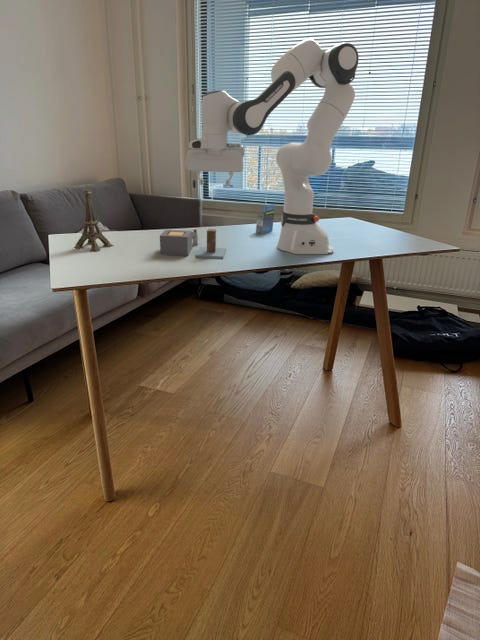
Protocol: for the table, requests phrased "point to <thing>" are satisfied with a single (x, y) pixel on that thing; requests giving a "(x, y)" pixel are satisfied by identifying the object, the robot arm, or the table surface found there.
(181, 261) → the table surface
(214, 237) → the brown rectangular block
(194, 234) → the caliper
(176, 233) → the button
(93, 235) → the eiffel tower
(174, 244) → the box
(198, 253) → the rest pad
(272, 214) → the label tape box
